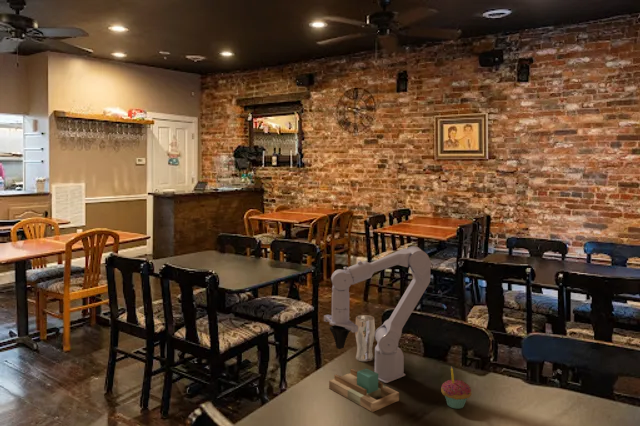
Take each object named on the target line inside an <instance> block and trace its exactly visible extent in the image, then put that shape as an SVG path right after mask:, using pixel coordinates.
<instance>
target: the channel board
mask: <svg viewBox="0 0 640 426" xmlns="http://www.w3.org/2000/svg"><path fill="white" fill-rule="evenodd" d="M358 371H359V370H357V369H354V368H351V369H350V373H347V374H346V373H345V374H344V375H341V376H340V375H339V374H334V375H333V377H334V378H333V379H330V380H329V381H328V385H329V386H328V388H329V390H332V391H333V392H336V394H339V395H341V396H342V397H344V398H346V399H348V400H350V401H352V402H353V403H355V404H357V405H358V406H360V407H362V408H365V410H368V411H370V412H371V413H374V412H375V411H378V410H381V409H384V408H385V407H388V406H390V405H392V404H394V403H396V402H399V401H400V392H399V391H397V390H395V389H393V388H390V387H389V386H387V385H384V382H382V381H380V380H378V390H376V391H374V392H371V393H369V394H368V393H367V390H366V389H364V388H362V387H360V386H358V385H357V372H358Z"/></svg>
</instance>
